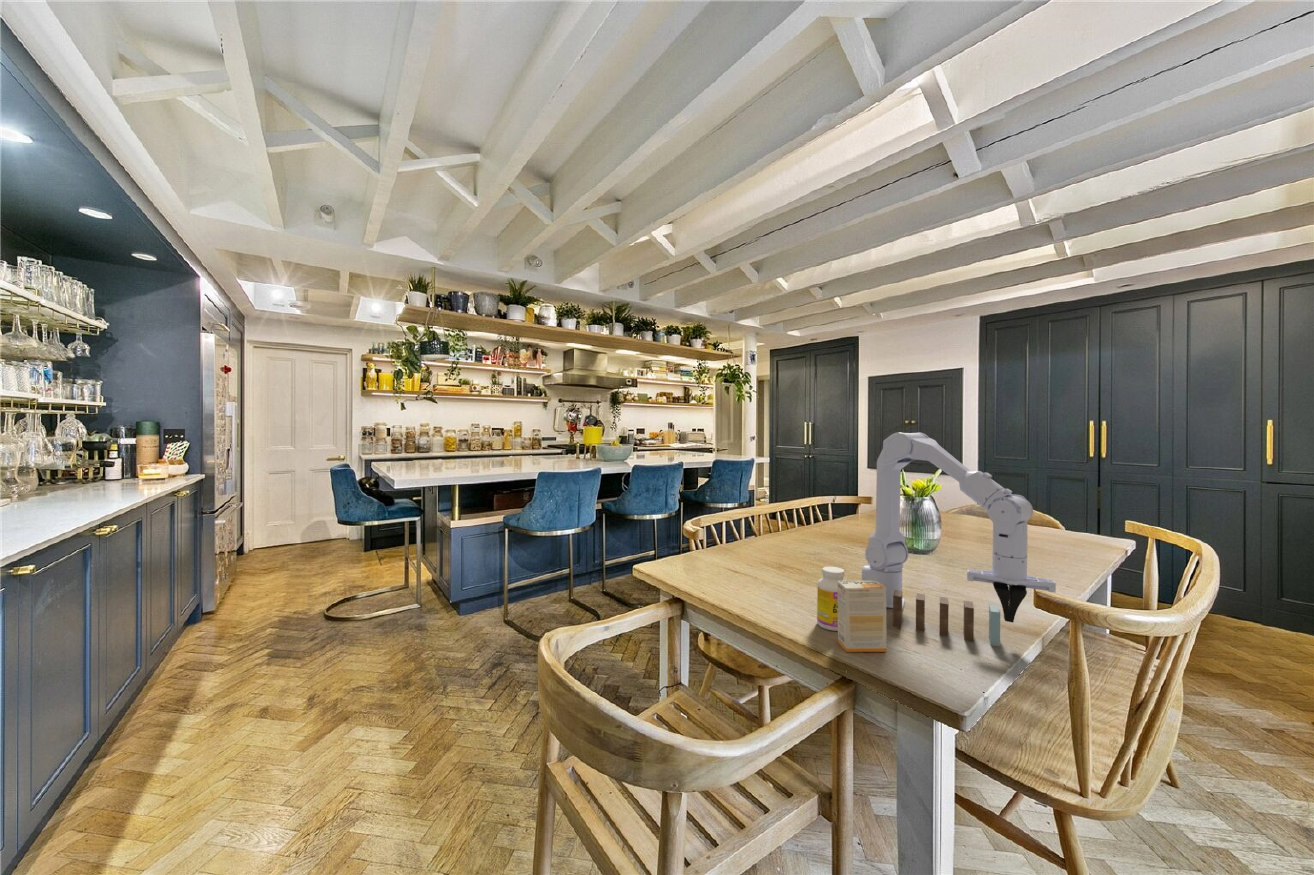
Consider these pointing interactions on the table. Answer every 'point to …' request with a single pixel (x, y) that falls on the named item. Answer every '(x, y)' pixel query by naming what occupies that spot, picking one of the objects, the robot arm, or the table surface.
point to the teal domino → (994, 625)
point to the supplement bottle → (828, 598)
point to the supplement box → (862, 616)
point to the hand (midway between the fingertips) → (1008, 620)
